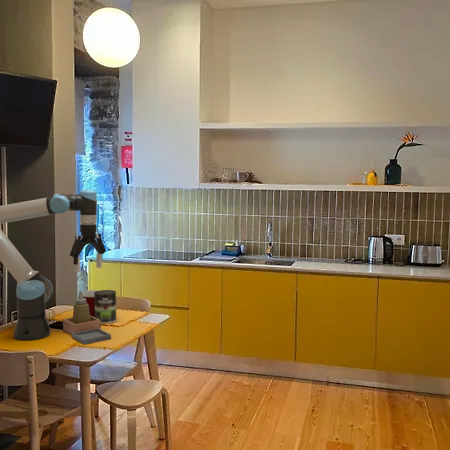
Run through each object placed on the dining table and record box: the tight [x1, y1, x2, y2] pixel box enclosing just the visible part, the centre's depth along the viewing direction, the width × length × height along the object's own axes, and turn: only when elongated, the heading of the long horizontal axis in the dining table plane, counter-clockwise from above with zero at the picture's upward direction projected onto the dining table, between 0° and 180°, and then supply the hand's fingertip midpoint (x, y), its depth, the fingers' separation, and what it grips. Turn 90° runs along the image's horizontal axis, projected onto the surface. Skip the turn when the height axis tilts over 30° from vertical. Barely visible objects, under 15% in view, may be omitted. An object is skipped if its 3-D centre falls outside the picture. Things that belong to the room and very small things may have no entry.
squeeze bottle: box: [72, 290, 91, 324], centre depth 251 cm, size 8×8×18 cm
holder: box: [62, 316, 102, 335], centre depth 252 cm, size 12×12×5 cm
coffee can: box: [94, 289, 117, 325], centre depth 267 cm, size 10×10×14 cm
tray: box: [71, 328, 112, 345], centre depth 240 cm, size 12×12×2 cm
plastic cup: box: [82, 289, 99, 317], centre depth 276 cm, size 11×11×12 cm
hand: (88, 269), depth 258 cm, fingers open, 13 cm apart
